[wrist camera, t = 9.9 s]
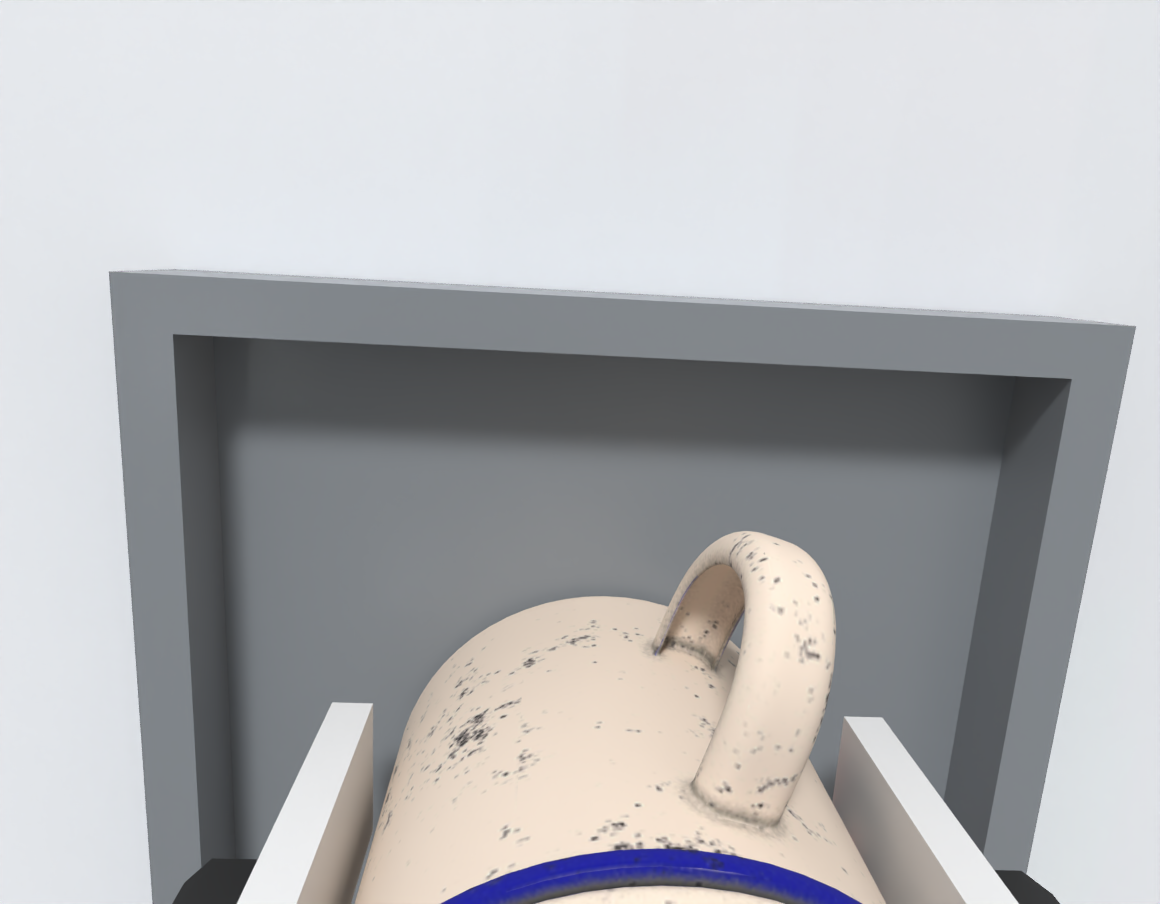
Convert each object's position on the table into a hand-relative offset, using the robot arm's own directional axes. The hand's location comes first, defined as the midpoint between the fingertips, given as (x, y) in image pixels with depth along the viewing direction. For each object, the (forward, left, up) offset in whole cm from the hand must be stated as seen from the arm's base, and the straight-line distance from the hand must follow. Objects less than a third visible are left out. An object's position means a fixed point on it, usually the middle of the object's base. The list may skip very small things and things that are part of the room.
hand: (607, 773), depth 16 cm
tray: (0, 0, -3) cm, 3 cm away
